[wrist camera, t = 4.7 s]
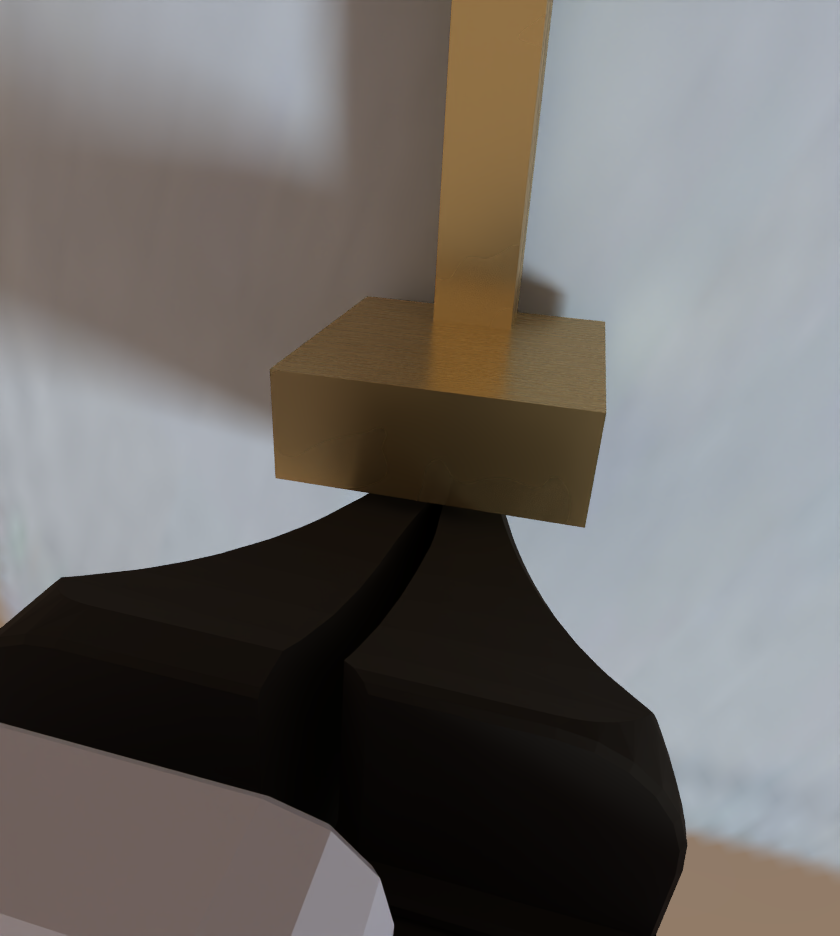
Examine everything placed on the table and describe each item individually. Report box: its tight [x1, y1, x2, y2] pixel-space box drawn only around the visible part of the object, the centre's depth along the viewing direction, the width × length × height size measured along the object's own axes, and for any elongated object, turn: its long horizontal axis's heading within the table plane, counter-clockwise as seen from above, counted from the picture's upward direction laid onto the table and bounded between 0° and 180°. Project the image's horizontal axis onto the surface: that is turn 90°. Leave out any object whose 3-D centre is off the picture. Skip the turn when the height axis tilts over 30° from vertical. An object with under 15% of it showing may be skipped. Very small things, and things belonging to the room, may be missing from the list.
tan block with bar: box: [270, 0, 606, 528], centre depth 9 cm, size 8×4×4 cm, turn 177°
